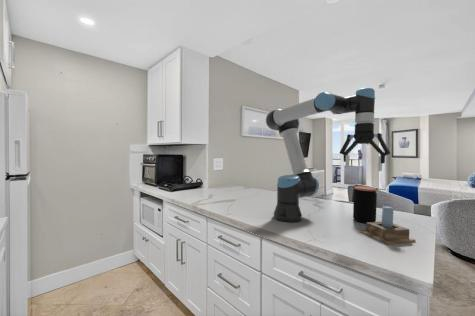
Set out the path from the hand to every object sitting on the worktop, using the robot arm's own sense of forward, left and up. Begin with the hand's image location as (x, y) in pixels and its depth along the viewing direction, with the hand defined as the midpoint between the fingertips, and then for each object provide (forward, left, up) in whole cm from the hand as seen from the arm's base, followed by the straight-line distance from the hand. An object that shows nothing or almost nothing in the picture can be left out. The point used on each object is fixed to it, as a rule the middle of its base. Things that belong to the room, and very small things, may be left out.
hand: (362, 169), depth 101 cm
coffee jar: (-14, +15, -29) cm, 35 cm away
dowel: (+7, +7, -28) cm, 30 cm away
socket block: (+7, +7, -29) cm, 30 cm away
